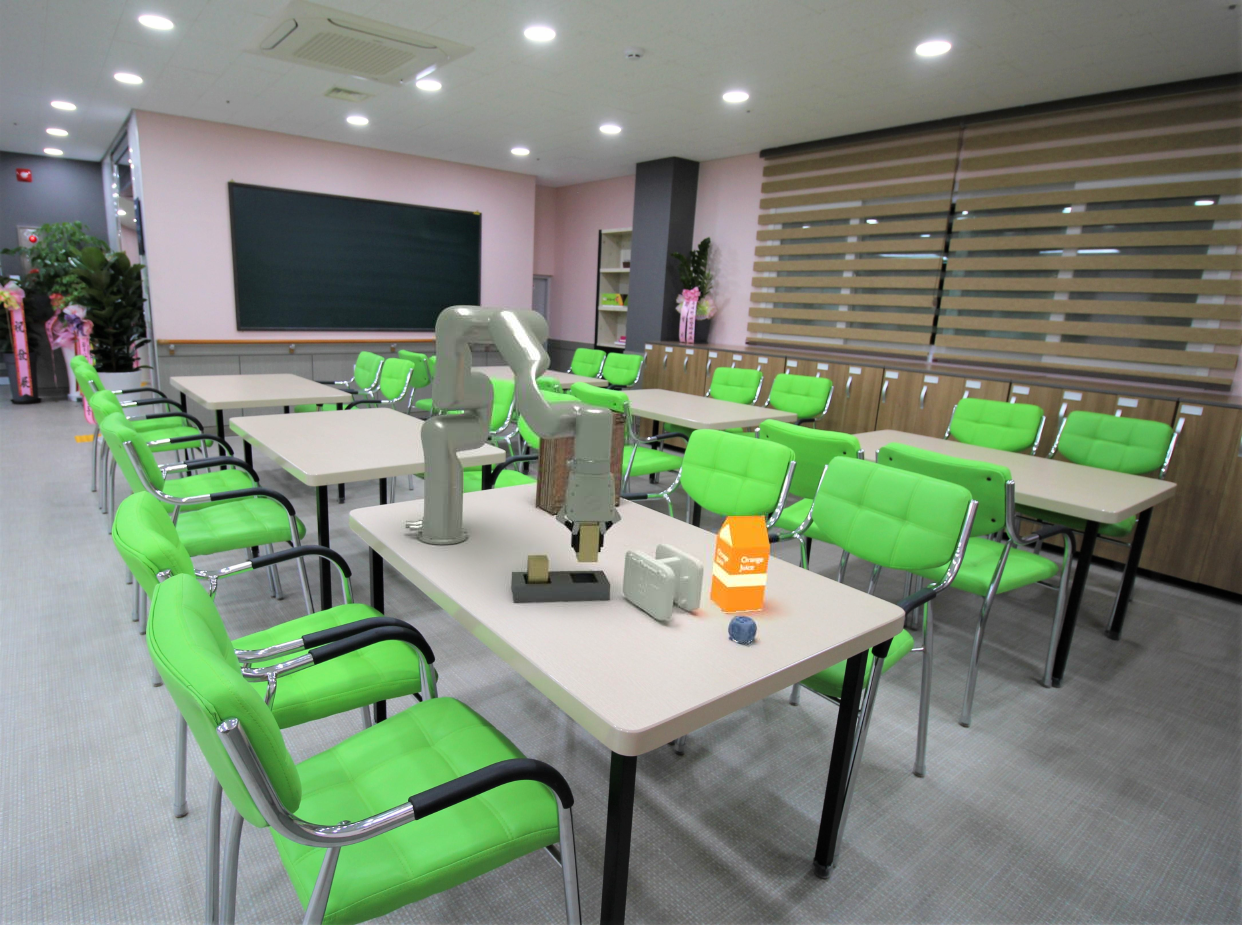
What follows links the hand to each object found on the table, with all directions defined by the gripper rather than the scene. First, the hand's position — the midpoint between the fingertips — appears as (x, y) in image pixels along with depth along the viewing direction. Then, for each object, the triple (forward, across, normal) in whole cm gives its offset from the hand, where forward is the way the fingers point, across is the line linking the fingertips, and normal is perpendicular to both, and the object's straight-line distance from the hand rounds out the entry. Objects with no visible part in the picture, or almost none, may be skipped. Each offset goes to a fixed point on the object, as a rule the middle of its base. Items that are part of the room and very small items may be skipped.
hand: (586, 549), depth 143 cm
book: (+10, +10, +65) cm, 67 cm away
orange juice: (+11, +32, -8) cm, 34 cm away
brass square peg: (+2, 0, 0) cm, 2 cm away
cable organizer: (+10, +15, -8) cm, 20 cm away
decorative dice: (+11, +27, -23) cm, 37 cm away
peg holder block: (+10, -5, 0) cm, 11 cm away
